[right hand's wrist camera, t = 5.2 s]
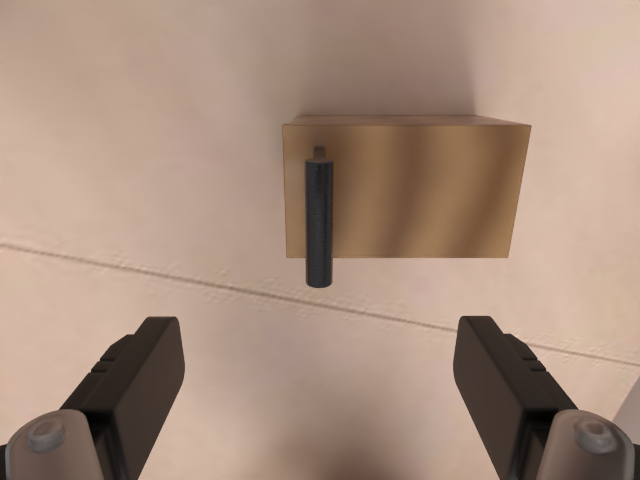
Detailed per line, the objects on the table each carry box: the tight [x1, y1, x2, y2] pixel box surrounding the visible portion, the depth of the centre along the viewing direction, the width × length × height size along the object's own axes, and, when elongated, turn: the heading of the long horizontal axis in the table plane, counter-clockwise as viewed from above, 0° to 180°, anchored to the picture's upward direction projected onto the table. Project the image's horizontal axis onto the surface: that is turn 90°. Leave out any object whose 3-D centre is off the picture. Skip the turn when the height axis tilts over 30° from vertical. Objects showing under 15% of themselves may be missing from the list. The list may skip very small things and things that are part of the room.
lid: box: [282, 124, 531, 288], centre depth 25 cm, size 16×9×8 cm, turn 90°
